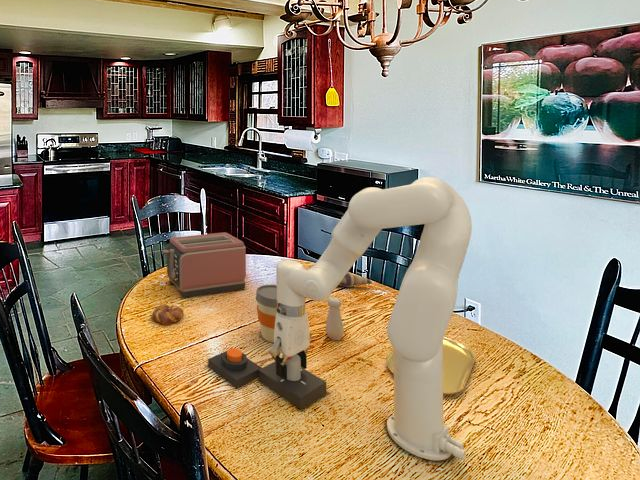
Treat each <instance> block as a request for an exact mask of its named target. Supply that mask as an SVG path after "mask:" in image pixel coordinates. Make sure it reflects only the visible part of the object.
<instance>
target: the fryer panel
mask: <svg viewBox="0 0 640 480" xmlns="http://www.w3.org/2000/svg"><path fill="white" fill-rule="evenodd" d="M280 358H281V359H282V357H280ZM258 381H259V382H260V383H262V384H263V385H265V386H266V387H268V388H269V389H270V390H272V391H273V392H275V393H276V394H277V395H279V396H281V398H283V399H284V400H286V401H288V402H289V403H290V404H292V405H293V406H295V407H296V408H297V409H299V410H303V409H304V408H305V407H307V406H308V405H310V404H312V403H313V402H316V400H318V399H319V398H321V397H323V396H325V395H326V394H327V381H325V380H324V379H322V378H320V377H318V376H317V375H316V374H314V373H312V372H311V371H308V370H307V369H304V368H302V367H301V378H300V380H298V381H291V380H288V379H286V380H284V379H282V378H281V377H279V376H278V375H277V374H276V361H275V360H274V361H272V362H271V363H269V364H267V365H264V366H263V367H261V369H259V377H258Z"/></svg>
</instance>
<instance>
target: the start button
mask: <svg viewBox="0 0 640 480" xmlns="http://www.w3.org/2000/svg"><path fill="white" fill-rule="evenodd" d="M226 351H227V359H228V360H229V361H231V362H240V361H242V353H243V352H242V351H241V350H240V349H238V348H234V347H231V348H228V349H227V350H226Z"/></svg>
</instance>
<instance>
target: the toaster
mask: <svg viewBox="0 0 640 480" xmlns="http://www.w3.org/2000/svg"><path fill="white" fill-rule="evenodd" d="M246 248H247V247H246V245H245V243H244V241H243V240H241V239H238V238H237V237H235V236H233V235H231V234H230V233H229V232H225V231H224V232H214V233H206V234H205V233H204V234H196V235H195V234H194V235H193V234H192V235H185V236H174V237H170V238H169V243H168V244H167V245H166V249H164V250H162V253H163V254H164V255H166V275H167V277H168V281H169V283H170V285H174V286H175V287H176V289H177V290H179V294H180V297H182V299H186V298H194V297H201V296H207V295H214V294H221V293H227V292H234V291H240V290H245V288H246V277H247V258H246V257H247V255H246V253H247V252H246Z"/></svg>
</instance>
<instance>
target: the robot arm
mask: <svg viewBox="0 0 640 480" xmlns="http://www.w3.org/2000/svg"><path fill="white" fill-rule="evenodd" d="M419 225H424V226H423V230H422V232H421V235H420V239H419V242H418V246H417V249H416V252H415V253H414V256H413V259H412V261H411V263H410V265H409V266H408V268H407V270H406V272H405V274H404V276H403V277H402V281H401V284H400V287H399V289H398V290H399V291H398V293H397V296H396V300H395V301H394V305H393V308H392V311H391V314H390V316H389V320H388V322H387V325H386V334H387V338H388V341H389V344H390V345H391V346H392V348H393V349H394V374H393V415H391V416H389V417H388V418H387V421H386V429H387V433H388V435H389V436H390V439H392V440H393V442H394V443H395V444H397V446H399V447H400V448H401V449H403V450H405V451H406V452H408V453H409V454H411V455H414V456H416V457H417V458H422V459H424V460H429V461H436V462H437V461H444V460H447V459H450V457H451V456H453V457H456V458H457V459H459V460H460V461H462V462H465V460H466V458H467V451H466V450H464V443H463V442H461V441H460V440H458V439H455V438H454V437H452V436H451V434H450V430H449V429H450V427H449V426H448V425H446V424H445V423H444V395H443V338H444V337H446V336H445V335H446V334H447V331H448V328H449V324H450V322H451V319H452V317H453V315H454V311H455V307H456V304H457V299H458V298H457V297H458V287H459V285H458V283H459V277H460V274H461V270H462V268H463V265H464V262H465V259H466V254H467V252H468V248H469V245H470V241H471V237H472V229H473V227H472V217H471V213H470V210H469V207H468V205H467V204H466V201H465V200H464V199H463V197H462V196H461V195H460V193H459V192H458V191H457V190H456V189H455V188H454V187H452V186H451V185H450V184H448V183H447V182H445V181H444V180H442V179H440V178H438V177H432V176H424V177H421V178H417V179H416V180H414V181H413V182H412V183H410V184H406V185H401V186H395V187H389V188H383V189H382V188H380V187H374V186H373V187H372V186H371V187H365V188H363V189H361V190H360V191H358V192H357V193H355V194H354V195H353V196H352V197H351V199H350V201H349V202H348V207H347V210H346V211H345V213H344V214H343V215H342V216H341V219H340V220H339V221H338V222H337V224H336V225H335V226H334V228H333V229H332V231H331V239H330V241H329V244H328V245H327V247H326V248H325V250H324V251H323V252H322V254H321V256H320V257H319V258H318V259H317V261H316V262H315V263H314V264H313V265H312V266H310V267H311V268H310V269H309V268H307V269H306V268H305V266H304V265H303V264H302V263H301V262H299V261H296V260H292V259H284V260H280V261H279V262H278V263H277V264H276V271H275V273H276V278H275V279H276V285H277V313H276V319H275V328H274V343H272V345H271V347H270V349H269V350H268V351H269V352H268V353H269V354H270V356H271V358H272V360H274V362H275V361H276V374H277V375H278V376H279V377H281V378H282V379H284V380H286V379H287V365H286V364H285V362H286V359H287V356H288V357H290V356H293V355H295V354H297V355H298V356H299V357H300V358H301V367H302V368H304V369H305V370H307V368H308V364H307V363H308V360H307V358H308V357H307V356H308V355H307V354H308V353H309V350H308V348H309V347H310V345H311V339H312V336H313V335H312V333H311V332H310V323H309V317H308V313H307V310H306V298H307V299H308V300H311V301H314V302H323V301H325V300H328V298H329V297H331V295H332V293H333V292H334V291H335V289H336V288H337V287H338V285H339V283H340V282H341V280H342V279H343V278H344V276H345V275H346V274H347V272H350V269H351V268H352V267H353V265H354V264H355V263H356V261H357V260H358V259H359V258H361V257H363V255H364V253H366V251H367V249H368V248H369V247H370V246H371V244H372V243H373V242H374V240H375V239H376V237H377V236H378V235H379V233H380V232H381V231H382V230H383V229H393V228H402V227H411V226H419ZM281 355H283V357H282V356H281ZM281 358H282V359H281Z"/></svg>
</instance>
